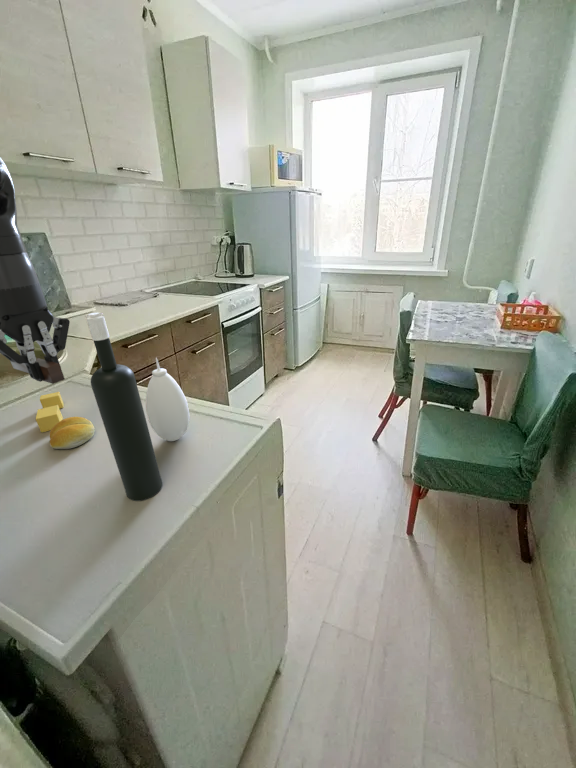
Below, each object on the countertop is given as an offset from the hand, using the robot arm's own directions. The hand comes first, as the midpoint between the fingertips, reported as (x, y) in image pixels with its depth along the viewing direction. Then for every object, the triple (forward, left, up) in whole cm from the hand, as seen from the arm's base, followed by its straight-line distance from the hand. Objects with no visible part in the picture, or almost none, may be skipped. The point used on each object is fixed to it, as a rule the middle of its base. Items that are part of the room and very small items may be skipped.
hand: (47, 377), depth 66 cm
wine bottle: (-2, -25, -15) cm, 29 cm away
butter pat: (+7, +20, -15) cm, 26 cm away
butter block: (+2, +12, -15) cm, 19 cm away
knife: (0, +4, 0) cm, 4 cm away
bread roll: (+1, +2, -15) cm, 16 cm away
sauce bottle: (+11, -18, -15) cm, 26 cm away
